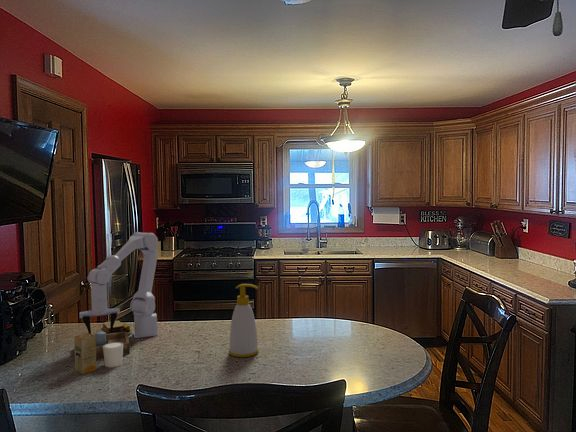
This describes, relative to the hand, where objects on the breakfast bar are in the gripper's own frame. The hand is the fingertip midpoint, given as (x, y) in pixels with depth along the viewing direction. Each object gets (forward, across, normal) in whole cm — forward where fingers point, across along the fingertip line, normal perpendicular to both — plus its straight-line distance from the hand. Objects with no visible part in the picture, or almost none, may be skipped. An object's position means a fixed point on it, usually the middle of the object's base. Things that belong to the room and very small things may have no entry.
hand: (100, 333), depth 179 cm
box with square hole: (+6, +1, -3) cm, 7 cm away
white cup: (+6, +4, -20) cm, 21 cm away
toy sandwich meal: (+6, +6, +17) cm, 19 cm away
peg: (+6, 0, 0) cm, 6 cm away
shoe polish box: (+6, -5, -22) cm, 23 cm away
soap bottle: (+6, +50, -28) cm, 58 cm away
